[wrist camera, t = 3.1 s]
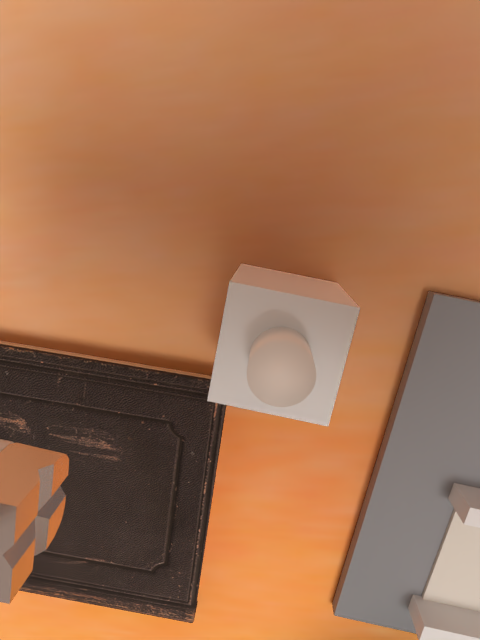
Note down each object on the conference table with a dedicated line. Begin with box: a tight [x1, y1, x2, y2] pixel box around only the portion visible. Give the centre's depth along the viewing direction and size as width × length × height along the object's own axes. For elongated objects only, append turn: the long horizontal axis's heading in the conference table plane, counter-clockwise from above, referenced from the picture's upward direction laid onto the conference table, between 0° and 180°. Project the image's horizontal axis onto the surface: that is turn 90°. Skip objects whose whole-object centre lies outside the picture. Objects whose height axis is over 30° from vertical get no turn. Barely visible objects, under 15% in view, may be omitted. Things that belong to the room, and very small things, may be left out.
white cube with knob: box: [207, 263, 360, 426], centre depth 19 cm, size 5×5×8 cm
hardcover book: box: [0, 341, 226, 623], centre depth 25 cm, size 16×23×2 cm
